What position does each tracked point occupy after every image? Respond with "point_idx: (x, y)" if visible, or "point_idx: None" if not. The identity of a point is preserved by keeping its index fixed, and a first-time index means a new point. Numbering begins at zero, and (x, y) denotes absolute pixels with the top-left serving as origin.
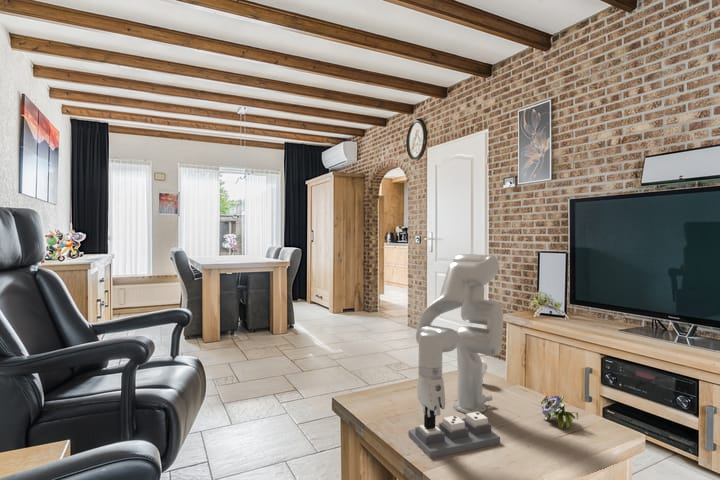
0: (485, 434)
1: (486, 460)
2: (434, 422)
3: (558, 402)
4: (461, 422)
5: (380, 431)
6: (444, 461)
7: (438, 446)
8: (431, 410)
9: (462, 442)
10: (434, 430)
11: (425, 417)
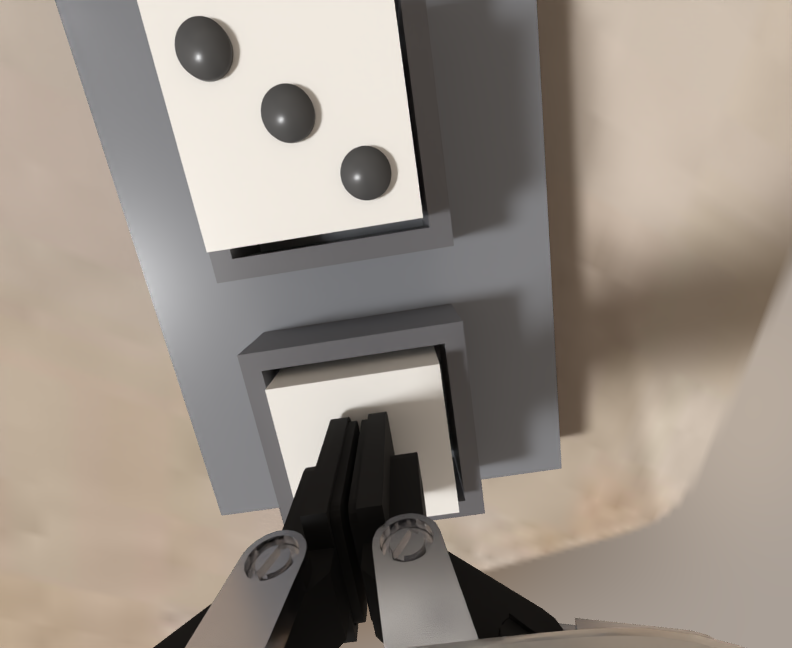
0: None
1: (709, 23)
2: (385, 452)
3: None
4: (391, 23)
5: (161, 623)
6: (605, 365)
7: (510, 384)
8: (300, 596)
9: (504, 142)
10: (429, 429)
11: (363, 608)
